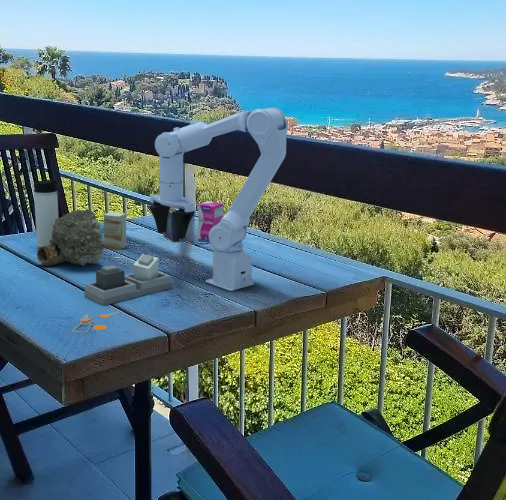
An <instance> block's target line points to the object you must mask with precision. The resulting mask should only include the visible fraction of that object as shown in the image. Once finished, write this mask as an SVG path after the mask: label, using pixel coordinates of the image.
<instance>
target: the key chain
mask: <svg viewBox="0 0 506 500" xmlns="http://www.w3.org/2000/svg"><path fill="white" fill-rule="evenodd" d="M117 314H120V311H116V312H112V313H111V312H110V313H108V314H106V313H105V314H101V315H100V316H96V317H92V318H89V314H85V315H84V316H82V317H83V318H80V323H79V324H78V325H77V326H75V327H74V328H73V329H72V330H71V332H72V333H76V334H78V333H79V334H86V333H88V332H89V330H90V329H91V328H92V327H93V328H92V329H93V330H96V331H102V330H105V329H107V327H108V326H106V325H103V324H97V325H95V324H93V323H94V322H95V321H94V319H101V318H102V319H108V318H111V317H112V316H115V315H117ZM81 326H83V327H88V329H87V330H86V331H77V329H79V327H81Z"/></svg>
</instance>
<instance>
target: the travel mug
mask: <svg viewBox="0 0 506 500" xmlns="http://www.w3.org/2000/svg"><path fill="white" fill-rule="evenodd" d="M58 182H59V179H58V178H53V179H44V180H38V181H36V182H34V183H33V199H34V216H35V230H36V243H37V244H36V245H37V246H36V247H37V250H39V247H42V246H48V245H50V244H51V242H52V241H51V239H52V238H51V236H52V230H53V226H52V225H54V224H55V222H56V221H55V220H56V219H57V220H58V219H59V218H60V217H59V201H58V187H57V183H58Z"/></svg>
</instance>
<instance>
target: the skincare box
mask: <svg viewBox="0 0 506 500" xmlns="http://www.w3.org/2000/svg"><path fill="white" fill-rule="evenodd" d="M103 237H104V238H103V240H104V243H105V249H109V250H118V251H119V250H122V249H123V248H126V247H127V214H126V213H125V212H116V211H110V212H106V213H105V214H104V213H103Z"/></svg>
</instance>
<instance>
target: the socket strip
mask: <svg viewBox="0 0 506 500" xmlns="http://www.w3.org/2000/svg"><path fill="white" fill-rule="evenodd" d="M84 285H85V289H84V290H85V291H84V292H83V294H84V295H83V296H84V298H87V299H89V300H91V301H93V302H95V303H97V304H98V305H102V306H107V305H112V304H116V303H119V301H120V302H123V301H127V300H130V299H135V298H139V297H141V296H142V297H143V296H146V295H150V294H153V293H157V292H162V291H166V290H169V289H172V288H173V283H172V276H171V275H170V274H167V273H164V272H161V271H159V275H158V276H157V278H155V279H151V280H147V281H139V280H136V279H134V272H132V273H127V274H125V286H122V287H118V288H114V289H110V290H105V291H104V290H102V289H100V288H97V287H96V281H94V282H92V281H91V282H90V283H85V284H84ZM115 302H116V303H115Z"/></svg>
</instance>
